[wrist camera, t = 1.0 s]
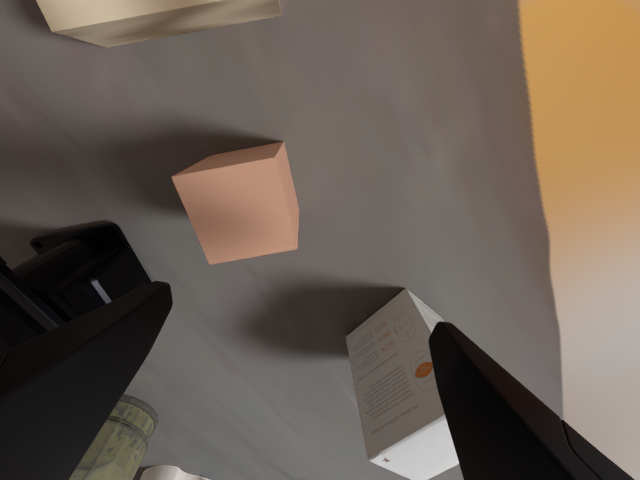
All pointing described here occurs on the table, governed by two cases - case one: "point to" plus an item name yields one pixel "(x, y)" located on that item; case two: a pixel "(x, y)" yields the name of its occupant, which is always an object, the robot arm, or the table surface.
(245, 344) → the table surface
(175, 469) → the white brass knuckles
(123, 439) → the thermos
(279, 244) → the terracotta block
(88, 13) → the birch base block
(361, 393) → the small box
